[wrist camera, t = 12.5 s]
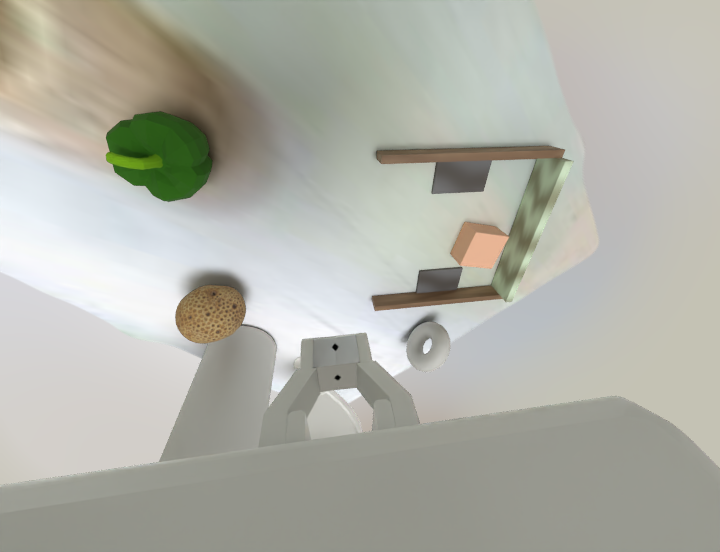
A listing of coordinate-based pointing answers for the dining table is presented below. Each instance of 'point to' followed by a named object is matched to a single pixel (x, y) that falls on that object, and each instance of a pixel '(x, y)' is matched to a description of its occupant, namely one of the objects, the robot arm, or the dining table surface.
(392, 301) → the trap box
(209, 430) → the cylinder vase
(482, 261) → the terracotta block
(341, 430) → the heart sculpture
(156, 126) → the bell pepper
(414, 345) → the donut
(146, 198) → the dining table surface
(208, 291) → the natural sponge
